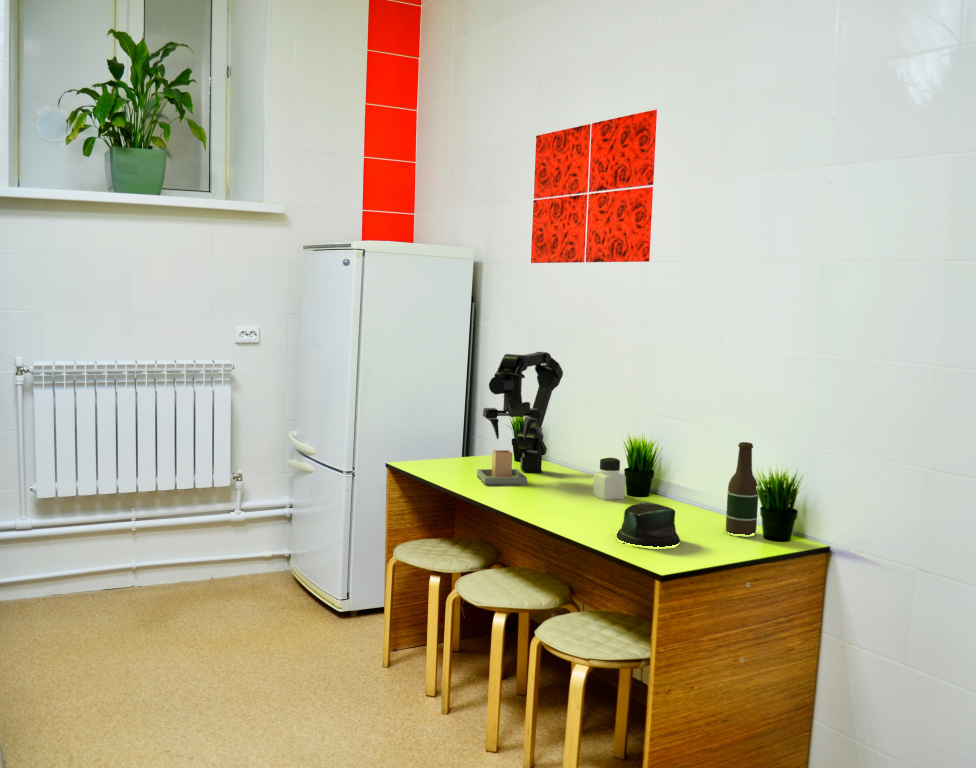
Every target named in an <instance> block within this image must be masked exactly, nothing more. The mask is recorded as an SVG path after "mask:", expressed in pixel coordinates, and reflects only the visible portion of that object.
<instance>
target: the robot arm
mask: <svg viewBox="0 0 976 768" xmlns="http://www.w3.org/2000/svg"><path fill="white" fill-rule="evenodd" d="M533 366H534V371H535V373H536V374H537V376H536V380H537V383H538V389H537V392H536V395H535V399H534V401H533V405H532V407H531V403H530V402H529V401H524V402H523V400H522V399H523V398H522V385H523V383H522V382H523V380H522V379H525V378H526V375H525V374H524V373H523V372H524V371H527V369H528V367H533ZM563 376H564V371H563V369H562V367H561V365H560V363H559V362H558V361H557V360H555V359H554V357H552V356H551V354H550V353H548V352H547V351H545V352H544V351H536V352H533V353H526V354H514V353H513V354H512V353H511V354H510V353H506V354H504V355H503V357H502V359H501V361H500V362H499V366H498V367H497V370H496V372H494V376H493V377H491V379H490V380H489V383H488V388H489V391H490V392H491V394H493V395H501V394H503V407H502V409H501V410H498V409H497V408H496V407H484V408H483V410H482V417H484V418H485V419H487V420H488V421H490V423H491V425H492V428H493V431H494V435H495V437H496V440H499V437H500V435H499V431H500V430H499V421H500V420H499V419H498V417H499V416H500V417H510V418H517V417H518V418H524V423H523V425H521V426H520V428H519V431H518V434H517V437H516V446H517V452H518V454H522V456H520V470H521V471H522V473H533V474H534V473H535V474H536V473H544V472H543V470H542V463H543V459H542V458H543V456H545V455H546V454H547V450H548V448H547V446H546V444H545V442H544V433H543V430H542V426H543V423H544V420H545V416H546V414H547V413H546V412H547V410H548V407H549V403H550V400H551V396H552V393H553V391H554V390H555V389H556V388H557V387H558V386H559V385H560V383H561V379H562V378H563Z"/></svg>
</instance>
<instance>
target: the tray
mask: <svg viewBox="0 0 976 768" xmlns="http://www.w3.org/2000/svg"><path fill="white" fill-rule="evenodd" d="M476 471H477V472H476V477H477V478H478V480H479V481H480V480H481V481H482V482H481V481H480V482H481V483H482V484H483V485H484V486H485V485H486V486H487V485H489V486H490V485H491V486H527V485H528V484H527V483H528V481H527V479H528V478H527V476H526V475H525V474H523V472H521V471H520V470H519V469H518V468H512V477H492V468H486V469H485V468H484V469H483V468H481V469H478V468H477V470H476Z"/></svg>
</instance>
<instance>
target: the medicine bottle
mask: <svg viewBox="0 0 976 768" xmlns="http://www.w3.org/2000/svg"><path fill="white" fill-rule="evenodd" d="M620 468H621V460H620V459H618V458H616V457H602V458H600V460H599V471H597V472H593V484H592V496H595V497H596V498H598V499H600V500H603V501H613V500H624V499H625V489H626V475H624V474H620V472H621V471H620V470H621V469H620Z"/></svg>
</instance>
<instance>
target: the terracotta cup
mask: <svg viewBox="0 0 976 768" xmlns="http://www.w3.org/2000/svg"><path fill="white" fill-rule="evenodd" d="M491 469H492V477H512V469H513V452H511V451H510V450H508V449H505V450H503V449H499V450H498V449H496V450H494V449H493V450H492V453H491Z"/></svg>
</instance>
